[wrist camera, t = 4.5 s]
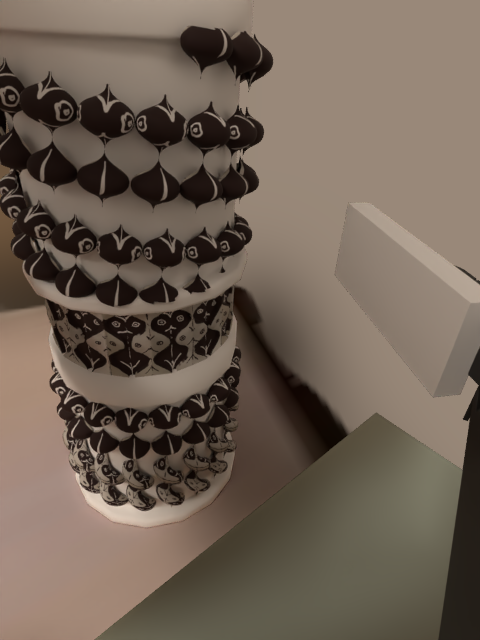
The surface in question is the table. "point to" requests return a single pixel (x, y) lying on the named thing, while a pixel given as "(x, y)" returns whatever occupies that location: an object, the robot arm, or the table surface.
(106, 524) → the table surface
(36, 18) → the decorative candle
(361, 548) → the riser
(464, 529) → the robot arm
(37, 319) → the table surface
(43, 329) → the table surface
